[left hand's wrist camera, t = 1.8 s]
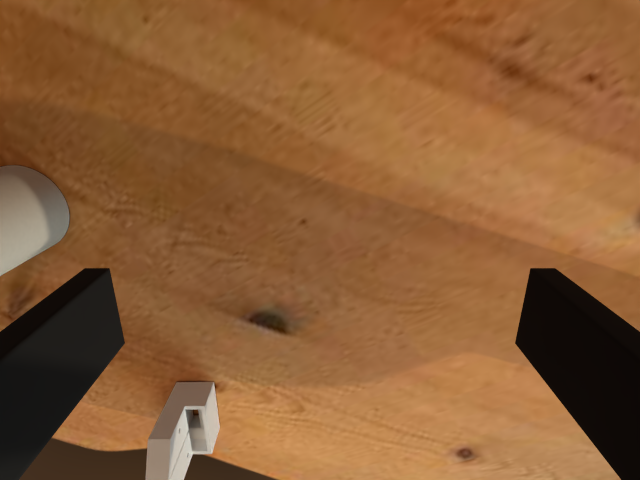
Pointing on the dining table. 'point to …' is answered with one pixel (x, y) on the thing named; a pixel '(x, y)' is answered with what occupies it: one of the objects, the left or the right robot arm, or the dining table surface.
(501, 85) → the dining table surface
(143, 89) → the dining table surface
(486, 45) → the dining table surface
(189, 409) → the white angled block
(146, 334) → the dining table surface
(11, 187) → the gray cylinder
